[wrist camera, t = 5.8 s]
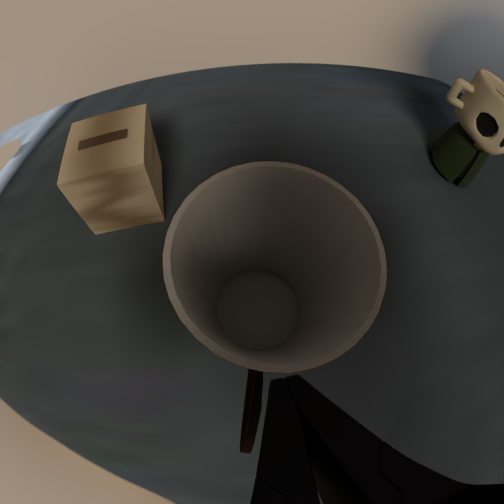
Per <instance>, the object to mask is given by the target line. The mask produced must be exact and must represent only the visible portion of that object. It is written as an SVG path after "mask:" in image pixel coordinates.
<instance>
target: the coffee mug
mask: <svg viewBox="0 0 504 504" xmlns="http://www.w3.org/2000/svg"><path fill="white" fill-rule="evenodd" d="M163 277H164V281H165V285H166V288H167V292H168V296H169V299H170V301H171V303H172V305H173V307H174V309H175V311H176V313H177V315H178V317H179V319H180V320H181V321H182V323H183V324H184V325H185V326H186V328H187V329H188V330H189V331H190V332H191V334H192V335H193V336H194V337H195V338H196V339H197V340H198V341H199V342H200V343H202V344H203V345H204V346H205V347H207V348H208V349H209V350H210V351H212V352H213V353H214V354H216V355H217V356H219V357H221V358H223V359H225V360H228V361H230V362H232V363H234V364H236V365H238V366H240V367H244V368H248V369H249V370H248V379H247V387H246V395H245V403H244V411H243V419H242V428H241V439H240V452H242V453H251V451H252V448H253V445H254V441H255V437H256V432H257V428H258V423H259V418H260V413H261V405H262V387H263V372H266V373H294V372H299V371H304V370H309V369H314V368H317V367H319V366H321V365H324V364H326V363H328V362H331V361H333V360H335V359H337V358H339V357H340V356H341V355H343V354H344V353H345V352H347V351H348V350H349V349H351V348H352V347H353V346H355V345H356V344H357V343H358V342H359V340H360V339H361V338H362V337H363V336H364V335H365V333H366V332H367V331H368V330H369V329H370V327H371V325H372V324H373V322H374V320H375V318H376V316H377V314H378V312H379V310H380V308H381V305H382V301H383V298H384V294H385V290H386V280H387V264H386V256H385V249H384V246H383V243H382V240H381V237H380V234H379V231H378V229H377V227H376V225H375V224H374V222H373V220H372V218H371V216H370V214H369V213H368V212H367V211H366V209H365V208H364V207H363V205H362V204H361V203H360V202H359V200H358V199H357V198H356V197H355V196H354V195H352V194H351V193H350V192H349V191H348V190H347V189H346V188H345V187H344V186H342V185H341V184H339V183H338V182H336V181H335V180H333V179H331V178H330V177H328V176H327V175H324V174H322V173H320V172H318V171H315V170H313V169H311V168H308V167H304V166H301V165H297V164H293V163H287V162H278V161H261V162H250V163H246V164H242V165H237V166H233V167H231V168H228V169H226V170H224V171H221V172H219V173H217V174H215V175H213V176H212V177H210V178H209V179H207V180H206V181H204V182H203V183H201V184H200V185H199V186H198V187H196V188H195V189H194V190H193V191H192V192H191V193H190V194H189V195H188V196H187V197H186V198H185V200H184V201H183V202H182V204H181V205H180V207H179V208H178V210H177V211H176V213H175V214H174V216H173V219H172V221H171V223H170V226H169V228H168V231H167V233H166V238H165V243H164V249H163Z"/></svg>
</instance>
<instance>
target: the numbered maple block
mask: <svg viewBox="0 0 504 504" xmlns="http://www.w3.org/2000/svg"><path fill="white" fill-rule="evenodd" d="M57 186H58V187H59V189H60V190H61V191H62V193H63V194H64V195H65V197H66V198H67V199H68V201H69V202H70V203H71V205H72V206H73V207H74V208H75V210H76V211H77V212H78V214H79V215H80V216H81V217H82V219H83V220H84V221H85V222H86V224H87V225H88V226H89V227H90V229H91V230H92V231H93V232H94V233H95V234H100V233H105V232H110V231H115V230H120V229H125V228H130V227H135V226H141V225H146V224H151V223H157V222H162V221H165V219H164V205H163V188H162V166H161V160H160V157H159V153H158V149H157V145H156V141H155V138H154V134H153V130H152V126H151V122H150V117H149V113H148V109H147V105H146V104H143V105H139V106H134V107H130V108H126V109H121V110H117V111H113V112H109V113H106V114H102V115H98V116H95V117H91V118H88V119H85V120H81V121H78V122H75V123H72V126H71V129H70V133H69V136H68V140H67V143H66V147H65V151H64V155H63V159H62V163H61V168H60V172H59V177H58V182H57Z"/></svg>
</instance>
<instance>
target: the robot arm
mask: <svg viewBox="0 0 504 504" xmlns="http://www.w3.org/2000/svg"><path fill="white" fill-rule="evenodd" d="M317 491H318V493H319V495H320V497H321V500H322V502H323V504H504V484H488V485H472V484H465V483H461V482H458V481H455V480H453V479H450V478H448V477H446V476H444V475H441V474H439V473H437V472H435V471H433V470H431V469H429V468H427V467H425V466H423V465H421V464H419V463H417V462H415V461H413V460H411V459H410V458H408V457H406V456H405V455H403V454H401V453H400V452H398V451H397V450H395V449H394V448H392V447H391V446H390V445H388V444H387V443H386V442H384V441H382V440H381V439H380V438H378V437H377V436H376V435H374V434H373V433H372V432H370V431H369V430H368V429H366V428H365V427H364V426H362V425H361V424H360V423H358V422H357V421H356V420H354V419H353V418H352V417H351V416H349V415H348V414H347V413H345V412H344V411H343V410H342V409H340V408H339V407H338V406H336V405H335V404H334V403H333V402H331V401H330V400H329V399H328V398H326V397H325V396H324V395H323V394H321V393H320V392H319V391H318V390H317V389H315V388H314V387H313V386H312V385H310V384H309V383H308V382H307V381H306V380H304V379H303V378H302V377H301V376H299V375H293V376H288V377H286V378H285V379H284V378H279V379H274V380H271V381H270V386H269V393H268V400H267V407H266V414H265V421H264V428H263V435H262V441H261V448H260V454H259V461H258V467H257V473H256V478H255V484H254V490H253V494H252V499H251V503H250V504H320V502H319V497H318V493H317Z"/></svg>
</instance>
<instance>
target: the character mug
mask: <svg viewBox="0 0 504 504" xmlns="http://www.w3.org/2000/svg"><path fill="white" fill-rule="evenodd" d="M461 89H464V90H466V91H465V92H464V94H463V95H462V97H461V98H460V100H459V99H457V98H456V97H457V95H458V94H459V92H460V90H461ZM446 101H447V102H448V103H450V104H452V105H453V106H455V107H456V108H455V113H456V117H457V119H458V121H459V122H457V123H455V124H453V125H452V126H451V127H450V128H449V129H448V130H447V131H446V132H445V133H444V134H443V135H442V136H441V137H440V138H439V139H438V140H437V142H436V143H435V144H434V145H433V146H432V157H433V161H434V164H435V166H436V167H437V168H438V170H439V171H440V173H441V174H442V175H443V176H444V177H445V178H446V179H447V180H449V181H450V182H453V181H454V180H455V179H456V177H457V178H461V179H462V181H461V182H460V183H459V185H458V186H459V187H467V185H468V184H469V183H470V182H471V181H472V180H473V178H474V177H475V176H476V174H477V173H478V172H479V170H480V169H481V167H482V165H483V164H484V162H485V161H486V159H487V158H488V155H489V154H492V155H498V154H503V153H504V82H503V81H501V80H500V79H499V78H498V77H496V76H495V75H493V74H492V73H490V72H489V71H487V70H485V69H482V68H481V69H479V70H478V71H477V73H476V74H475V76H474V78H473V79H472V81H471V82H470V83H468V82H466V81H465V80H463V79H460V78H458V79H456V80H455V82H454V83H453V85H452V87H451V88H450V90H449V92H448V93H447V95H446Z"/></svg>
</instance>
